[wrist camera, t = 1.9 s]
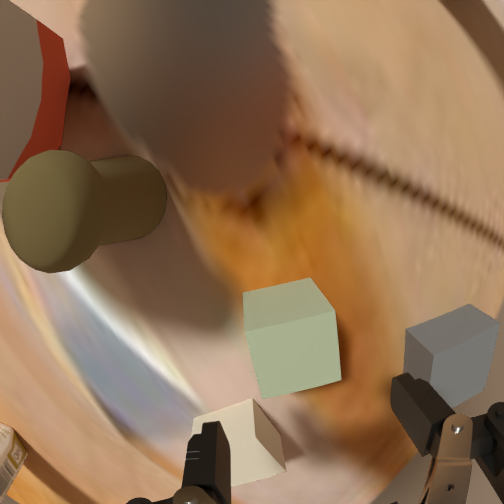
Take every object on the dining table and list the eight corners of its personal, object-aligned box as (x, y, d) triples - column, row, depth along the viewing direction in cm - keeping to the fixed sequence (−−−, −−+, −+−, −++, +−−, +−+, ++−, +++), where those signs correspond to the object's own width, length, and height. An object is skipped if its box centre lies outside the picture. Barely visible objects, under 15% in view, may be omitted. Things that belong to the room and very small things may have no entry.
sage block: (242, 292, 21) (244, 331, 16) (310, 277, 21) (334, 310, 16) (256, 349, 23) (262, 398, 17) (318, 335, 23) (341, 379, 17)
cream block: (194, 417, 24) (188, 456, 19) (252, 396, 24) (255, 437, 19) (226, 451, 25) (225, 488, 21) (279, 433, 25) (286, 471, 20)
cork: (184, 206, 20) (125, 233, 9) (120, 256, 20) (33, 319, 10) (136, 138, 18) (46, 102, 8) (77, 191, 19) (-30, 206, 8)
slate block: (404, 328, 23) (433, 355, 18) (468, 302, 23) (499, 322, 18) (400, 392, 25) (421, 423, 20) (459, 366, 25) (483, 389, 20)
